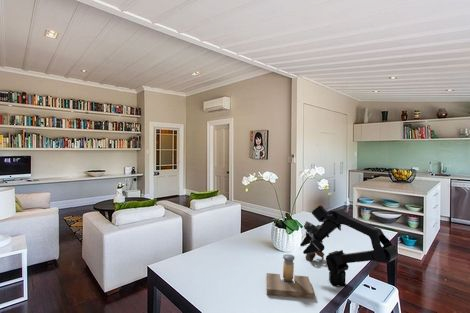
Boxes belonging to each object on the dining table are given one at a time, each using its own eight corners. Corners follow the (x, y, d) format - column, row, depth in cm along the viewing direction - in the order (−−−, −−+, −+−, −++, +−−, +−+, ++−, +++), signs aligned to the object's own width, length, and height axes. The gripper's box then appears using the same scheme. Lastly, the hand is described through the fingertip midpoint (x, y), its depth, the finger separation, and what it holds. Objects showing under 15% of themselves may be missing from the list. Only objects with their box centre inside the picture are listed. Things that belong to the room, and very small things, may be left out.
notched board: (308, 281, 120) (308, 276, 120) (313, 298, 106) (313, 293, 106) (266, 278, 122) (266, 273, 122) (266, 294, 108) (266, 289, 108)
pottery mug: (306, 255, 151) (314, 244, 150) (320, 266, 145) (328, 255, 144) (300, 257, 141) (308, 245, 140) (314, 269, 136) (322, 257, 135)
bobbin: (293, 281, 120) (294, 254, 120) (294, 287, 114) (295, 259, 114) (281, 280, 121) (282, 253, 120) (282, 286, 115) (283, 258, 115)
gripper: (310, 212, 133) (289, 231, 134) (318, 222, 114) (293, 244, 116) (325, 227, 132) (303, 246, 134) (335, 240, 114) (309, 262, 115)
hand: (302, 249), depth 125 cm, fingers open, 9 cm apart
